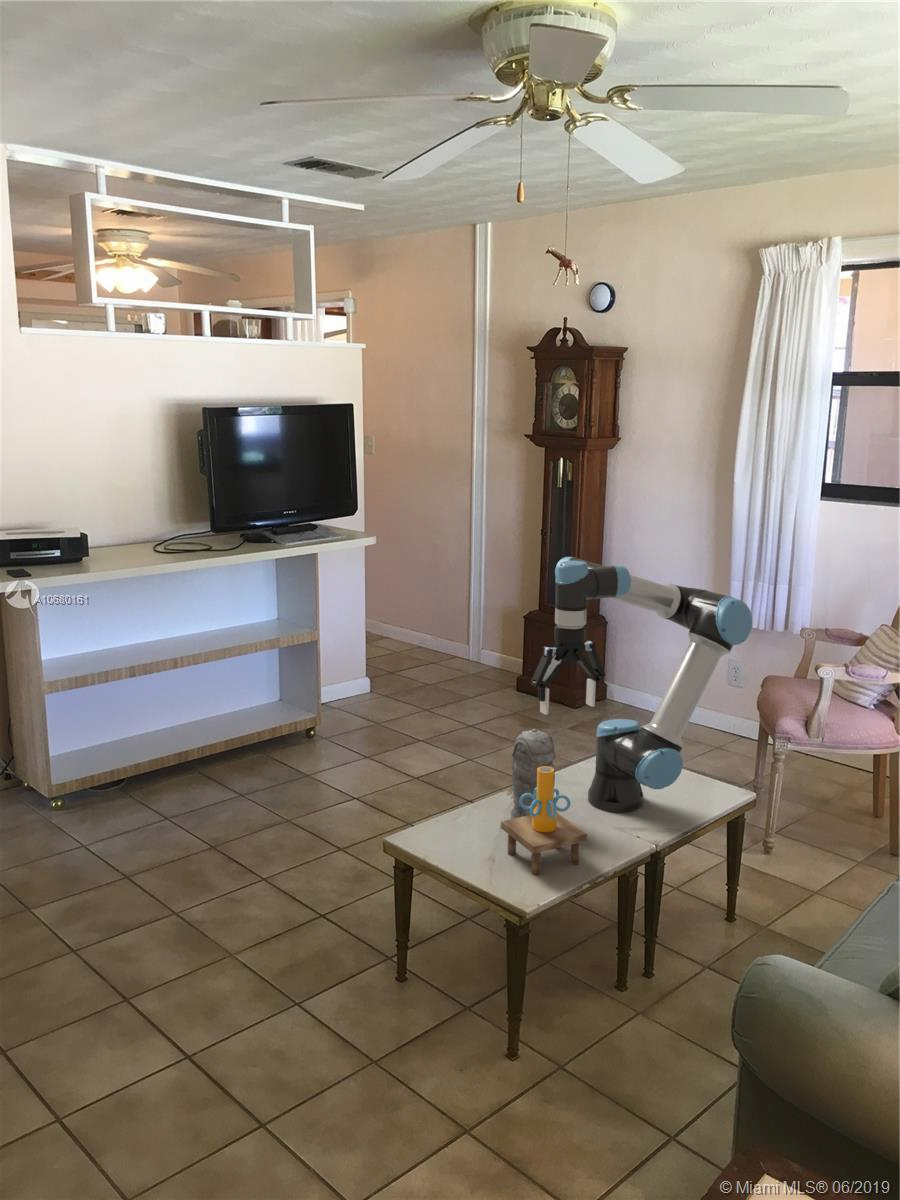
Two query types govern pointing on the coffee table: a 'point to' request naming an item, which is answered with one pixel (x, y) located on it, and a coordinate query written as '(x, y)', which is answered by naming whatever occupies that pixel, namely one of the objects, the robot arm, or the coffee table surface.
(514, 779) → the figurine
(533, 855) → the small wooden table
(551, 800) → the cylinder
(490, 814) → the coffee table surface
